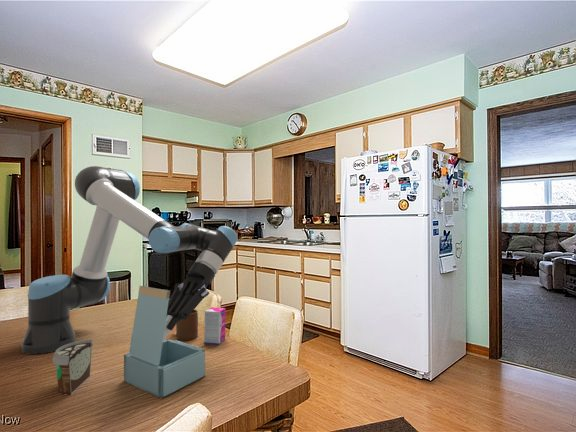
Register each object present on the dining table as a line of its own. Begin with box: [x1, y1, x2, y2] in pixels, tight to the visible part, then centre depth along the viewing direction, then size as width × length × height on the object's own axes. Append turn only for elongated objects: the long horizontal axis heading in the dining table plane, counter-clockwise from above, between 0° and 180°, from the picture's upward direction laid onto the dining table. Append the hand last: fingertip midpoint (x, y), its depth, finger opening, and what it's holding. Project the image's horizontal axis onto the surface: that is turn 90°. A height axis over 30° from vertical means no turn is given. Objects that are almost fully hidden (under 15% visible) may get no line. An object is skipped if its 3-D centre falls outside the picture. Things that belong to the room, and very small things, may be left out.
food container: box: [51, 339, 94, 396], centre depth 87 cm, size 12×6×10 cm, turn 5°
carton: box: [123, 338, 206, 399], centre depth 91 cm, size 15×17×7 cm
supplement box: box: [203, 306, 227, 346], centre depth 118 cm, size 6×6×12 cm
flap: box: [128, 285, 171, 365], centre depth 87 cm, size 1×12×18 cm, turn 57°
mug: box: [175, 309, 199, 341], centre depth 124 cm, size 12×8×9 cm, turn 51°
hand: (158, 339), depth 89 cm, fingers closed
